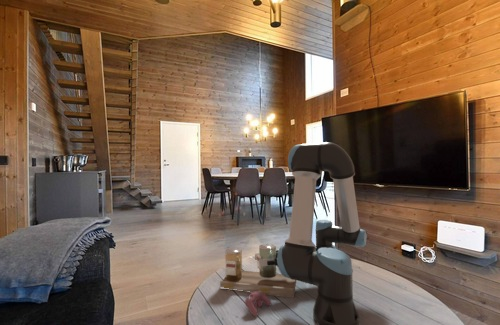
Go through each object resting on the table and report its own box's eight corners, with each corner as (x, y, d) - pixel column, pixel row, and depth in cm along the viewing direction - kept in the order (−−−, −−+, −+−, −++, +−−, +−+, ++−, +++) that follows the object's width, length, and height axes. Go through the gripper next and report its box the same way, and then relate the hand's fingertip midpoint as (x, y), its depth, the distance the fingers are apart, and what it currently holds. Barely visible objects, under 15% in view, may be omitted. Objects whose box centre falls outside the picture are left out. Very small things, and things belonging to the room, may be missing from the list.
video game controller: (264, 306, 100) (257, 288, 102) (272, 304, 97) (265, 286, 99) (248, 318, 92) (241, 298, 94) (256, 317, 90) (249, 296, 92)
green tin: (272, 270, 118) (272, 243, 118) (278, 276, 111) (278, 248, 111) (255, 272, 115) (255, 245, 116) (261, 279, 108) (260, 250, 109)
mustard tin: (229, 273, 122) (228, 247, 122) (243, 274, 120) (243, 248, 120) (222, 280, 114) (222, 253, 114) (238, 282, 112) (238, 254, 112)
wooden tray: (293, 297, 103) (293, 290, 103) (220, 289, 111) (219, 282, 111) (296, 280, 118) (296, 273, 118) (231, 274, 126) (231, 268, 126)
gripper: (315, 272, 107) (263, 277, 102) (296, 256, 127) (252, 260, 122) (314, 254, 107) (262, 259, 102) (296, 241, 127) (252, 244, 122)
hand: (257, 259), depth 112 cm, fingers closed on green tin, 7 cm apart
